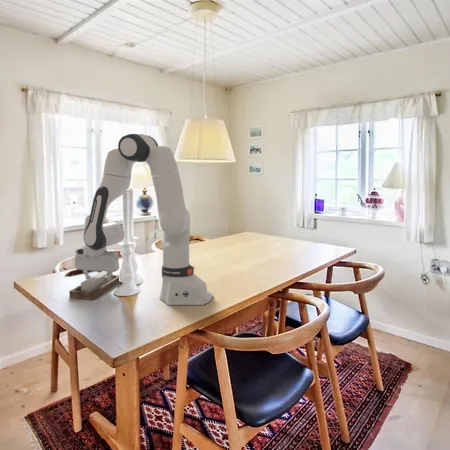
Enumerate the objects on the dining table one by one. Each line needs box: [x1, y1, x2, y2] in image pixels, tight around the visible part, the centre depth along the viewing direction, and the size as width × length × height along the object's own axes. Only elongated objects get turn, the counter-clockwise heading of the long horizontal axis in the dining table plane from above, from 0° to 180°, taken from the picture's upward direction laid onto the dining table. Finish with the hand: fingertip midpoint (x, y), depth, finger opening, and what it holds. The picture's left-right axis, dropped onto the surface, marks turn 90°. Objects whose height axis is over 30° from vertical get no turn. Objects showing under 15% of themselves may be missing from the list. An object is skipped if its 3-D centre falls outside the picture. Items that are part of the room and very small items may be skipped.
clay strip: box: [80, 271, 114, 292], centre depth 162 cm, size 4×20×5 cm, turn 169°
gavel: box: [64, 268, 91, 277], centre depth 188 cm, size 21×5×10 cm
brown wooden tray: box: [68, 274, 120, 301], centre depth 162 cm, size 11×26×3 cm, turn 169°
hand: (97, 279), depth 162 cm, fingers open, 8 cm apart
